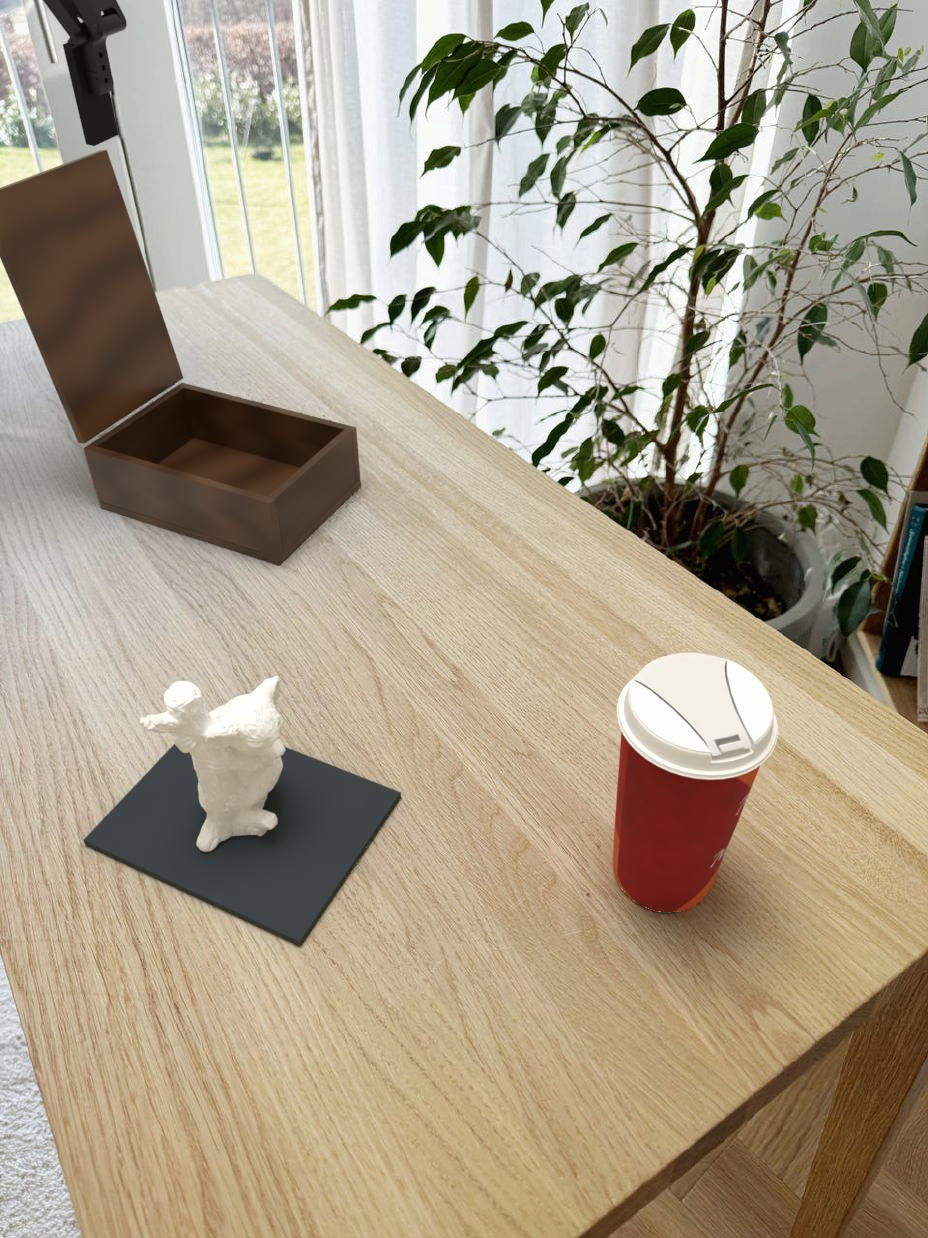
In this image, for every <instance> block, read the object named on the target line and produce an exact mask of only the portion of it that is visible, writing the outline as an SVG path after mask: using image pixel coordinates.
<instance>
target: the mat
mask: <svg viewBox="0 0 928 1238" xmlns="http://www.w3.org/2000/svg"><path fill="white" fill-rule="evenodd" d="M284 747H285V752H284V754H283V755H282V756H281V760H282V763H283V768H282V771H281V774H280V776H279V779H278V781H277V783H276V784H275V786H274V788H273V789H272V790H271V791H269V792H268V794H267V799H266V800H265V803H264V806H263V809H262V810H266V811H269V812H272V813H274V814H275V815H276V817H277V821H278V822H277V825H276V826H275V827H274V828H273V829H271V830H267V831H266V833H265V834H264V835H262V836H258V835H241V836H231V837H229V838H228V839H226V840H225V841H222V842H220V843H219V844H218V845H217V846H216V847H215V849H213V850H211V851H208V852H203V851H201V850H200V849H199V848H198V847H197V845H196V843H197V838H198V836H199V834H200V831H201V828H202V826H203V824H204V822H205V820H206V817H207V813H206V811H205V810H204V809H203V807H202V806H201V804H200V802H199V793H198V782H199V781H198V777H197V773H196V771H195V770H194V766H193V760H192V755H190V753H189V752H188V753H183V752H182V751H180V750H179V748H178V747H177V746H176V745H175V743H173V745H172V746H171V747H170V748H168V750H167V751H166V752H165V753H164V754H163V755H162V756H161V757H160V758H159V759H158V760H157V762H155V763H154V765H152V767H151V768H150V769H149V770H148V771H147V772H146V773H145V774H144V775H143V776H142V777H141V779H139V780H138V782H136V784H135V785H134V786H133V787H132V788H130V790H129V791H128V792H127V793H126V794H125V795H124V797H122V799H121V800H119V802H118V803H116V804H115V806H114V807H112V809H111V810H110V811H109V812H108V813H107V814H106V816H105V817H103V818H102V820H100V821H99V823H98V824H97V825H95V827H94V828H93V829H92V830H91V831H90V832H89V833H88V835H86V836H85V837H84V838H83V840H82V841H83V843H84V845H85V846H87V847H89V848H91V849H94V850H96V851H97V852H100V853H102V854H104V855H106V856H108V857H111V858H112V859H115V860H117V861H119V862H121V863H123V864H125V865H127V866H129V867H132V868H133V869H136V870H138V871H140V872H142V873H144V874H147V876H150V877H153V878H155V879H157V880H159V881H162V882H163V883H166V884H168V885H169V886H171V887H174V888H176V889H178V890H180V891H183V892H184V893H186V894H189V895H192V896H193V897H195V898H197V899H200V900H201V901H204V902H206V903H208V904H210V905H212V906H214V907H216V908H218V909H220V910H223V911H224V912H227V913H229V914H231V915H234V916H235V917H237V918H240V919H242V920H244V921H246V922H248V923H250V924H252V925H255V926H256V927H259V928H260V929H263V930H265V931H267V932H269V933H271V934H273V935H276V936H277V937H279V938H282V939H284V940H286V941H289V942H290V941H291V942H290V943H292V942H293V944H295V945H296V946H299V945H301V946H302V945H303V943H304V941H306V939H307V937H308V935H309V934H310V933H309V931H310V932H311V931H312V930H313V928H314V927H313V926H315V925H316V924H317V922H318V921H319V919H320V918H321V916H322V915H323V913H324V912H325V910H326V909H327V908H328V906H329V905H330V903H331V901H332V900H333V898H334V897H335V896H336V894H337V893H336V892H338V891H339V890H340V888H341V887H342V885H343V884H344V882H345V881H346V879H347V878H348V877H349V875H350V874H351V872H352V870H353V869H354V867H355V866H356V865H357V863H358V862H359V860H360V859H361V857H362V856H363V854H364V853H365V852H366V850H367V848H368V847H369V845H370V844H371V842H372V841H373V839H374V838H375V836H376V835H377V834H378V832H379V831H380V829H381V827H382V826H383V824H384V823H385V822H386V820H387V819H388V817H389V816H390V814H391V813H392V811H393V810H394V808H395V807H396V805H397V804H398V802H399V801H400V799H401V798H402V792H401V791H398V790H395V789H394V788H390V787H388V786H385V785H383V784H380V783H378V782H375V781H373V780H371V779H368V778H365V777H363V776H360V775H357V774H355V773H353V772H351V771H347V770H345V769H342V768H340V767H338V766H335V765H332V764H330V763H327V762H325V761H322V760H321V759H320V760H319V759H317V758H315V757H312V756H310V755H307V754H304V753H302V752H300V751H297V750H294V749H292V748H290V747H287V746H284ZM388 815H389V816H388ZM369 843H370V844H369ZM366 847H367V848H366ZM354 865H355V866H354ZM352 868H353V869H352ZM350 871H351V872H350ZM348 874H349V875H348ZM346 877H347V878H346ZM344 880H345V881H344ZM342 883H343V884H342ZM341 884H342V885H341ZM340 886H341V887H340ZM339 887H340V888H339ZM338 889H339V890H338ZM337 890H338V891H337ZM335 893H336V894H335ZM333 896H334V897H333ZM331 899H332V900H331ZM329 902H330V903H329ZM327 905H328V906H327ZM325 908H326V909H325ZM321 914H322V915H321ZM320 915H321V916H320ZM319 917H320V918H319ZM318 918H319V919H318ZM317 920H318V921H317ZM316 921H317V922H316ZM315 923H316V924H315ZM314 924H315V925H314ZM311 929H312V930H311ZM308 933H309V934H308ZM307 934H308V935H307ZM306 936H307V937H306Z"/></svg>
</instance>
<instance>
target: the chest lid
mask: <svg viewBox="0 0 928 1238" xmlns="http://www.w3.org/2000/svg"><path fill="white" fill-rule="evenodd" d="M130 217H131V216H130V214H129V212H128V208H127V205H126V202H125V199H124V197H123V194H122V190H121V188H120V185H119V181H118V179H117V176H116V173H115V170H114V166H113V164H112V161H111V158H110V155H109V152H108V149H100V150H97V151H94V152H92V153H89V154H87V155H84V156H81V157H79V158H76V159H73V160H70V161H68V162H65V163H63V164H59V165H57V166H55V167H52V168H49V169H47V170H44V171H41V172H38V173H36V174H33V175H31V176H28V177H25V178H22V179H21V180H18V181H15V182H12V183H9V184H7V185H4V186H1V187H0V262H1V263H2V266H3V268H4V270H5V272H6V274H7V275H6V276H7V277H8V280H9V283H10V284H11V287H12V290H13V292H14V295H15V296H16V298H17V301H18V304H19V306H20V308H21V310H22V313H23V315H24V318H25V320H26V322H27V325H28V327H29V329H30V332H31V334H32V337H33V339H34V341H35V344H36V346H37V348H38V350H39V354H40V356H41V358H42V361H43V363H44V366H45V368H46V369H47V372H48V375H49V377H50V379H51V381H52V384H53V386H54V389H55V390H56V393H57V395H58V398H59V401H60V403H61V405H62V407H63V410H64V412H65V415H66V416H67V420H68V422H69V424H70V427H71V429H72V431H73V434H74V436H75V438H76V440H77V443H78V444H86V443H88V442H89V441H91V440H92V439H94V438H95V437H97V436H99V435H100V434H102V433H103V432H104V431H106V430H108V429H109V428H111V427H112V426H113V425H115V424H117V423H118V422H120V421H121V420H123V419H125V418H126V417H127V416H128V415H130V414H132V413H134V412H135V411H136V410H138V409H139V408H141V407H142V406H144V405H145V404H147V403H148V402H150V401H152V400H153V399H154V398H156V397H157V396H159V395H160V394H162V393H163V392H165V391H167V389H170V388H171V387H172V386H174V385H175V384H177V383H179V382H180V381H182V380H183V379H184V375H183V372H182V369H181V366H180V363H179V360H178V357H177V354H176V351H175V348H174V345H173V342H172V340H171V336H170V333H169V331H168V330H169V329H168V327H167V325H166V321H165V318H164V316H163V313H162V309H161V307H160V304H159V301H158V298H157V295H156V291H155V288H154V286H153V283H152V279H151V277H150V274H149V271H148V268H147V265H146V262H145V259H144V256H143V254H142V250H141V248H140V244H139V242H138V238H137V235H136V233H135V230H134V226H133V223H132V220H131V218H130Z"/></svg>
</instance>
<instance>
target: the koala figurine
mask: <svg viewBox="0 0 928 1238" xmlns="http://www.w3.org/2000/svg"><path fill="white" fill-rule="evenodd" d="M280 684H281V679H280V676H279V675H274V676H273V677H269V678H266V679H264V680H263V681H262V682H261V683H260V684H259V685H258V686H257V687H256V688H255V689H254V690H253V691H252V692H250V693H244V694H240V695H237V696H235V697H234V698H232V699H230V700H228V701H227V702H226V703H224V704H222V705H220V706H217V707H216V708H214V709H213V710H209V708H208V706H207V704H206V703H205V700H204V697H203V693H202V691H201V690H200V688H199V687H198V686H197V684H194V682H192V681H188V680H177V681H175V682H173V683H172V684H171V685H170V687H168V689H166V690H165V692H164V694H163V701H164V705H165V708H166V709H165V712H161V713H157V714H146V716H145V717H143V716H141V717H140V718H139V725H140V726H142V727H143V728H145V730H146V731H147V732H153V733H157V734H166V733H167V734H172V737H173V744H175V745H176V746H177V747H178V748H179V750H180V751H182V752H183V753H188V752H189V753H190V755H192V760H193V766H194V770H195V771H196V773H197V777H198V781H199V782H198V793H199V802H200V804H201V806H202V807H203V809H204V810H205V811H206V813H207V817H206V820H205V822H204V824H203V826H202V828H201V831H200V834H199V836H198V838H197V843H196V845H197V847H198V848H199V849H200V850H201V851H203V852H208V851H211V850H213V849H215V847H216V846H217V845H218V844H219V843H220V842H222V841H225V840H226V839H228V838H229V837H231V836H241V835H258V836H262V835H264V834H265V833H266V831H267V830H271V829H273V828H274V827H275V826H276V825H277V822H278V821H277V817H276V815H275V814H274V813H272V812H269V811H266V810H262V809H263V806H264V803H265V800H266V799H267V794H268V792H269V791H271V790H272V789H273V788H274V786H275V784H276V783H277V781H278V779H279V776H280V774H281V771H282V768H283V763H282V760H281V756H282V755H283V754H284V752H285V747H286V746H284V744H283V739H282V731H283V727H284V719H283V718H282V716H281V715H280V713H279V712H278V709H277V708H276V705H277V701H278V699H279V698H280V697H281V695H280V692H281V690H280V689H281V685H280Z"/></svg>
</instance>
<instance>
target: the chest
mask: <svg viewBox="0 0 928 1238" xmlns="http://www.w3.org/2000/svg"><path fill="white" fill-rule="evenodd" d="M82 449H83V452H84V456H85V460H86V463H87V467H88V469H89V474H90V477H91V481H92V483H93V486H94V490H95V493H96V496H97V500H98V504H99V507H100V509H104V510H106V511H110V512H113V513H116V514H119V515H122V516H125V517H127V518H131V519H133V520H137V521H141V522H144V523H146V524H150V525H153V526H156V527H159V528H162V529H165V530H169V531H170V532H171V531H172V532H174V533H178V534H181V535H184V536H187V537H190V538H194V539H196V540H200V541H203V542H206V543H209V544H213V545H215V546H217V547H218V546H219V547H222V548H225V549H228V550H232V551H233V552H237V553H240V554H243V555H246V556H250V557H253V558H256V559H259V560H262V561H264V562H268V563H272V564H275V565H277V566H280V565H281V564H282V563H283V562H284V561H286V559H288V558H289V557H290V556H291V555H292V554H293V553H294V552H295V551H296V550H297V549H298V548H299V547H300V546H301V545H302V544H303V543H304V542H306V540H307V539H308V538H309V537H310V536H312V534H313V533H314V532H315V531H316V530H317V529H318V528H320V527H321V525H323V523H325V522H326V521H327V520H328V519H329V518H330V517H331V516H332V515H333V514H334V513H335V512H336V511H337V510H338V509H339V508H340V507H342V505H343V504H344V503H345V502H346V501H347V500H348V499H349V498H350V497H351V496H352V495H353V494H354V493H356V491H358V490H359V489H360V488H361V486H362V482H361V481H362V480H361V469H360V457H359V456H360V455H359V443H358V431H357V426H352V425H348V424H345V423H341V422H337V421H333V420H330V419H326V418H321V417H319V416H318V417H317V416H314V415H310V414H306V413H302V412H299V411H294V410H290V409H286V408H283V407H279V406H275V405H272V404H267V403H264V402H260V401H255V400H252V399H248V398H243V397H240V396H237V395H232V394H228V393H224V392H221V391H216V390H212V389H209V388H204V387H201V386H197V385H193V384H190V383H185V382H179V384H177V385H176V386H174V387H173V388H171V389H170V390H169V391H167V392H165V393H164V394H163V395H161V396H159V397H157V398H156V399H155V400H153V401H152V402H150V403H149V404H147V405H145V407H143V408H141V409H140V410H138V411H136V412H135V413H134V414H132V415H131V416H129V417H128V418H127V419H125V420H123V421H122V422H120V423H119V424H117V425H116V426H115V427H113V428H111V429H109V430H108V431H107V432H105V433H103V434H102V435H101V436H99V437H97V438H96V439H95V440H93V441H92V442H90V443H88V444H86V446H84V447H83V448H82Z"/></svg>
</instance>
